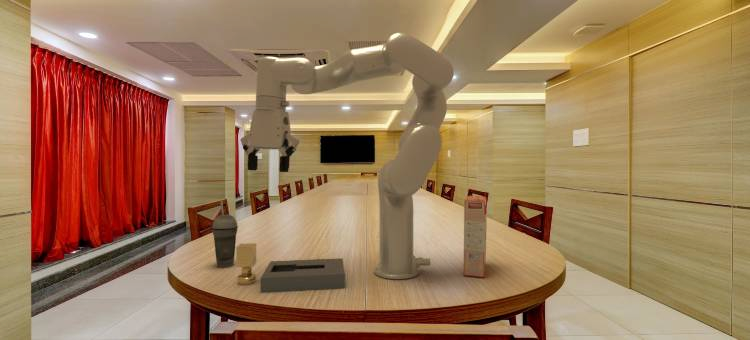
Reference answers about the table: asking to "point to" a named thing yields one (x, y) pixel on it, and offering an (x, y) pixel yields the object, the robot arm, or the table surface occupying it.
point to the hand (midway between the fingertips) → (267, 171)
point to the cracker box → (475, 236)
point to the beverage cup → (224, 239)
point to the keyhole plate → (303, 275)
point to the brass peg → (246, 263)
